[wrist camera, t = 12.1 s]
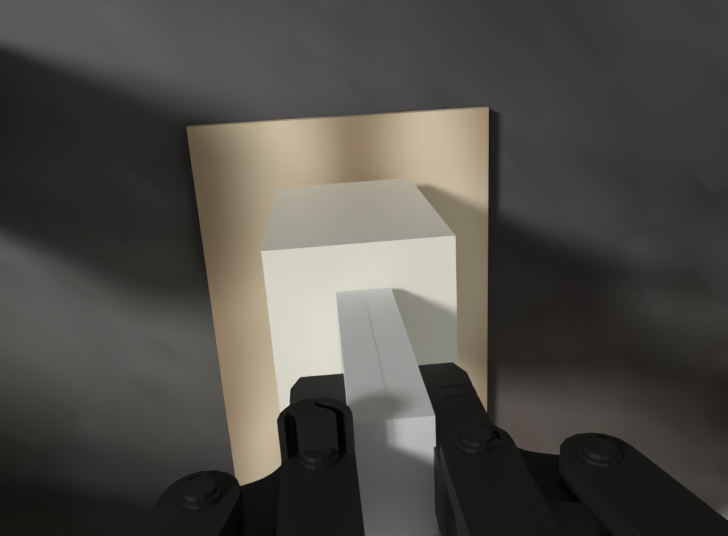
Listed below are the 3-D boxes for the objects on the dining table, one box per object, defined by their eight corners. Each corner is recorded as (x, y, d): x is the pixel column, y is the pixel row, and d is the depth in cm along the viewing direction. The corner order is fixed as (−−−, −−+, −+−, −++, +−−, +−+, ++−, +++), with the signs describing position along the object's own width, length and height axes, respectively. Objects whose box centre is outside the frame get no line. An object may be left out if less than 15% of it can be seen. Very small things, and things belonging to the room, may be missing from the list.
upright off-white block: (290, 311, 27) (281, 422, 19) (277, 188, 25) (261, 251, 17) (414, 300, 27) (458, 405, 19) (409, 177, 25) (455, 235, 17)
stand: (245, 534, 32) (219, 723, 23) (188, 125, 26) (122, 163, 17) (483, 510, 33) (549, 685, 24) (484, 106, 26) (576, 133, 17)
